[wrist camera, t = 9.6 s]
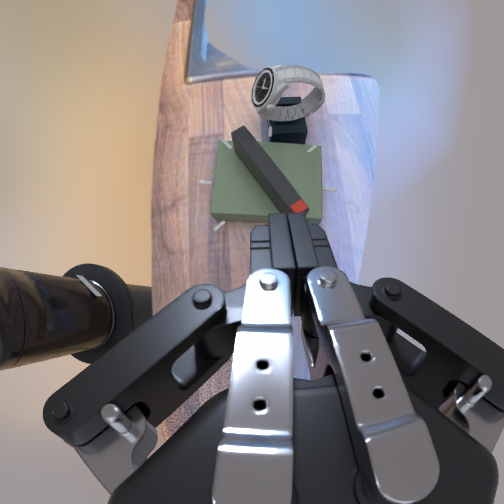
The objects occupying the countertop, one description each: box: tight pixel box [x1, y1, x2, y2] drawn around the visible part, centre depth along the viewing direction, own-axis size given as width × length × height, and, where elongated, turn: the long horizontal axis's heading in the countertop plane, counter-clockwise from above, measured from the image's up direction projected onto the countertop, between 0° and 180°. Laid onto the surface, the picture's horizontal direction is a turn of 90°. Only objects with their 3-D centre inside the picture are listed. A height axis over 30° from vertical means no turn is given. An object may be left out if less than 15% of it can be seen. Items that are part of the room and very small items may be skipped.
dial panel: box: [199, 126, 336, 231], centre depth 34 cm, size 15×15×3 cm
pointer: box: [231, 126, 310, 216], centre depth 30 cm, size 11×2×5 cm, turn 34°
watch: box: [252, 65, 325, 144], centre depth 31 cm, size 6×8×11 cm
